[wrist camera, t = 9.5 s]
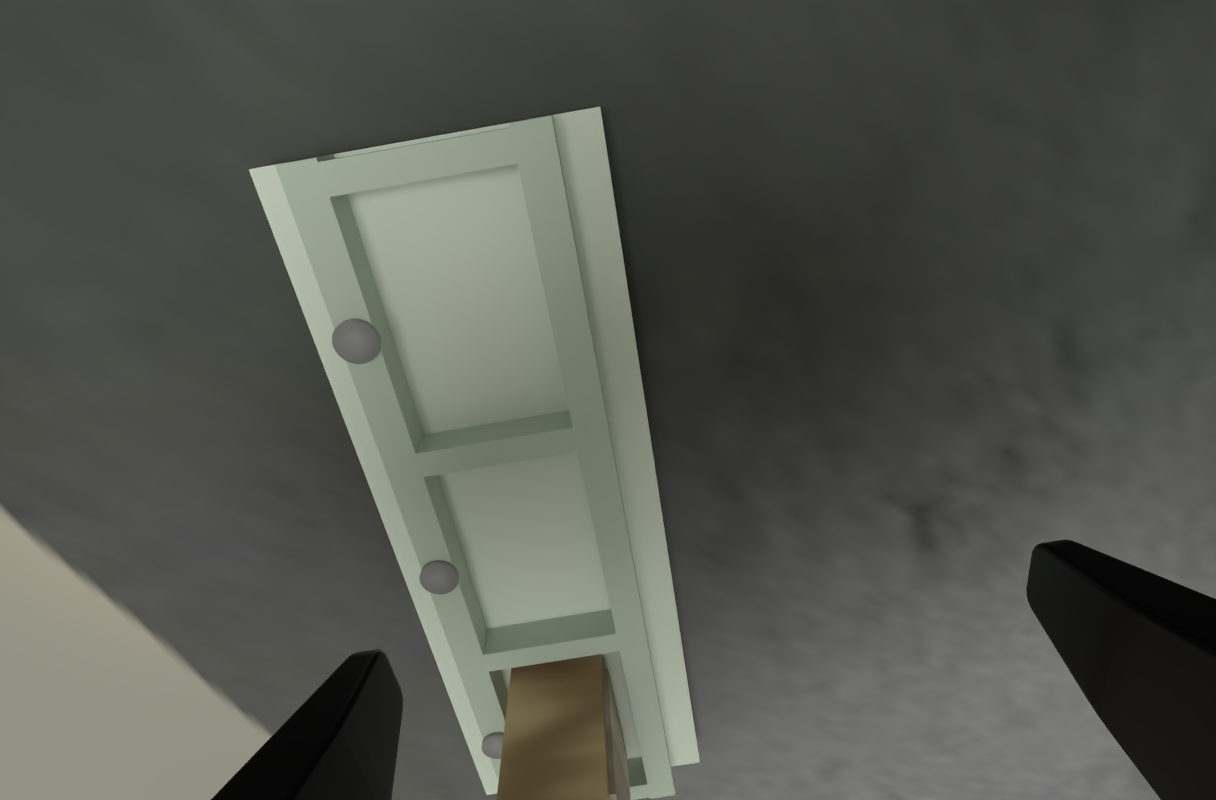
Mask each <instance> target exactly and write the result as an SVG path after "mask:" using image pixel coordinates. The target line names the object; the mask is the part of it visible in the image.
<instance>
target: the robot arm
mask: <svg viewBox="0 0 1216 800" xmlns="http://www.w3.org/2000/svg"><path fill="white" fill-rule="evenodd" d="M1027 598H1028V602H1029V604H1030V607H1031V609H1032V610H1033V612H1034V614H1035V615H1036V617H1037V619H1038V620H1039V622H1040V623H1041V625H1042V627H1043V628H1044V630H1045V632H1046V633H1047V635H1048V636H1049V638H1050V640H1051V641H1052V643H1053V645H1054V646H1055V648H1056V649H1057V651H1058V653H1059V654H1060V656H1061V658H1062V659H1063V661H1064V662H1065V664H1066V666H1067V667H1068V669H1069V671H1070V672H1071V674H1072V675H1073V677H1074V679H1075V680H1076V682H1077V683H1078V685H1079V687H1080V688H1081V690H1082V692H1083V693H1084V695H1085V696H1086V698H1087V700H1088V701H1089V703H1090V704H1091V706H1092V707H1093V709H1094V710H1095V712H1096V713H1097V715H1098V716H1099V717H1100V719H1101V720H1102V722H1103V723H1104V724H1105V726H1106V727H1107V729H1108V730H1109V731H1110V733H1111V734H1112V735H1113V737H1114V738H1115V739H1116V741H1117V742H1118V743H1119V745H1120V746H1121V747H1122V749H1123V750H1124V751H1125V753H1126V754H1127V755H1128V757H1129V758H1130V759H1131V761H1132V762H1133V763H1134V765H1135V766H1136V767H1137V768H1138V770H1139V771H1140V772H1141V774H1142V775H1143V776H1144V778H1145V779H1146V780H1147V782H1148V783H1149V784H1150V786H1151V787H1152V788H1153V790H1154V791H1155V792H1156V794H1157V795H1158V796H1159V798H1160V799H1161V800H1216V599H1214V598H1212V597H1209V596H1207V595H1204V594H1202V593H1199V592H1197V591H1194V590H1192V589H1190V588H1187V587H1185V586H1182V585H1180V584H1177V583H1175V582H1172V581H1170V580H1167V579H1165V578H1163V577H1160V576H1158V575H1155V574H1153V573H1150V572H1148V571H1145V570H1143V569H1140V568H1138V567H1136V566H1133V565H1131V564H1128V563H1126V562H1123V561H1121V560H1118V559H1116V558H1113V557H1111V556H1109V555H1106V554H1104V553H1101V552H1099V551H1096V550H1094V549H1091V548H1089V547H1086V546H1084V545H1082V544H1079V543H1077V542H1074V541H1071V540H1059V541H1052V542H1046V543H1041V544H1038V545H1036V546H1035V548H1034V549H1033V551H1032V556H1031V563H1030V569H1029V576H1028V582H1027ZM402 710H403V696H402V691H401V688H400V685H399V683H398V681H397V678H396V676H395V673H394V671H393V669H392V666H391V664H390V662H389V659H388V657H387V655H386V653H385V652H384V651H382V650H379V649H376V650H370V651H363V652H357V653H354V654H352V655H351V656H349V657H348V658H347V659H346V660H345V661H344V662H343V663H342V664H341V665H340V666H339V667H338V668H337V669H336V670H335V672H334V673H333V674H332V675H331V676H330V677H329V678H328V679H327V680H326V681H325V682H324V683H323V684H322V685H321V686H320V687H319V688H318V689H317V690H316V691H315V692H314V693H313V694H312V695H311V696H310V697H309V698H308V699H307V701H306V702H305V703H304V704H303V705H302V706H301V707H300V708H299V709H298V710H297V711H296V712H295V713H294V714H293V715H292V716H291V717H290V718H289V719H288V720H287V721H286V722H285V723H284V724H283V725H282V726H281V727H280V729H279V730H278V731H277V732H276V733H275V734H274V735H273V736H272V737H271V738H270V739H269V740H268V741H267V742H266V743H265V744H264V745H263V746H262V747H261V748H260V749H259V750H258V751H257V752H256V753H255V755H254V756H252V758H251V759H250V760H249V761H248V762H247V763H246V764H245V765H244V766H243V767H242V768H241V769H240V770H239V771H238V772H237V773H236V774H235V775H234V776H233V777H232V778H231V779H230V780H229V781H228V782H227V784H225V786H224V787H223V788H222V789H221V790H220V791H219V792H218V793H217V794H216V795H215V796H214V797H213V798H212V799H211V800H391V798H392V790H393V782H394V774H395V766H396V758H397V750H398V742H399V734H400V726H401V718H402Z"/></svg>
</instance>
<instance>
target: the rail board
mask: <svg viewBox="0 0 1216 800" xmlns="http://www.w3.org/2000/svg"><path fill="white" fill-rule="evenodd" d="M249 171H250V174H251V177H252V179H253V182H254V184H255V187H256V190H257V192H258V195H259V198H260V200H261V203H262V205H263V208H264V211H265V213H266V216H267V219H268V221H269V224H270V226H271V229H272V232H273V234H274V237H275V240H276V242H277V245H278V247H279V250H280V253H281V255H282V258H283V261H284V263H285V266H286V269H287V271H288V274H289V276H290V279H291V282H292V284H293V287H294V290H295V292H296V295H297V297H298V300H299V303H300V305H301V308H302V311H303V313H304V316H305V318H306V321H307V324H308V326H309V329H310V332H311V334H312V337H313V339H314V342H315V345H316V347H317V350H318V353H319V355H320V358H321V361H322V363H323V366H324V368H325V371H326V374H327V376H328V379H329V382H330V384H331V387H332V389H333V392H334V395H335V397H336V400H337V403H338V405H339V408H340V410H341V413H342V416H343V418H344V421H345V424H346V426H347V429H348V432H349V434H350V437H351V439H352V442H353V445H354V447H355V450H356V453H357V455H358V458H359V460H360V463H361V466H362V468H363V471H364V474H365V476H366V479H367V481H368V484H369V487H370V489H371V492H372V495H373V497H374V500H375V502H376V505H377V508H378V510H379V513H380V516H381V518H382V521H383V524H384V526H385V529H386V531H387V534H388V537H389V539H390V542H391V545H392V547H393V550H394V552H395V555H396V558H397V560H398V563H399V566H400V568H401V571H402V573H403V576H404V579H405V581H406V584H407V587H408V589H409V592H410V594H411V597H412V600H413V602H414V605H415V608H416V610H417V613H418V616H419V618H420V621H421V623H422V626H423V629H424V631H425V634H426V637H427V639H428V642H429V644H430V647H431V650H432V652H433V655H434V658H435V660H436V663H437V665H438V668H439V671H440V673H441V676H442V679H443V681H444V684H445V687H446V689H447V692H448V694H449V697H450V700H451V702H452V705H453V708H454V710H455V713H456V715H457V718H458V721H459V723H460V726H461V729H462V731H463V734H464V736H465V739H466V742H467V744H468V747H469V750H470V752H471V755H472V757H473V760H474V763H475V765H476V768H477V771H478V773H479V776H480V779H481V781H482V784H483V786H484V789H485V792H486V794H487V795H490V794H496V793H497V791H498V782H499V773H500V764H501V755H502V746H503V737H504V728H505V719H506V710H507V701H508V692H509V683H510V674H511V668H515V667H522V666H528V665H534V664H541V663H547V662H553V661H560V660H566V659H572V658H579V657H585V656H591V655H597V654H602V658H603V662H604V666H605V669H608V671H609V675H610V680H611V684H612V689H613V693H614V698H615V702H616V707H617V711H618V716H619V720H620V725H621V729H622V734H623V738H624V743H625V747H626V752H627V762H628V774H629V786H630V799H631V800H635V799H642V798H648V797H650V799H653V798H659V797H666V796H672V795H675V789H674V783H673V776H672V769H671V767H672V766H678V765H685V764H691V763H698V762H700V761H699V754H698V747H697V741H696V734H695V728H694V721H693V715H692V708H691V701H690V695H689V688H688V682H687V675H686V668H685V662H684V655H683V649H682V642H681V635H680V629H679V622H678V616H677V609H676V603H675V596H674V589H673V583H672V576H671V570H670V563H669V556H668V550H667V543H666V537H665V530H664V523H663V517H662V510H661V504H660V497H659V491H658V484H657V477H656V471H655V464H654V458H653V451H652V444H651V438H650V431H649V425H648V418H647V411H646V405H645V398H644V392H643V385H642V379H641V372H640V365H639V359H638V352H637V346H636V339H635V332H634V326H633V319H632V313H631V306H630V299H629V293H628V286H627V280H626V273H625V267H624V260H623V253H622V247H621V240H620V234H619V227H618V220H617V214H616V207H615V201H614V194H613V187H612V181H611V174H610V168H609V161H608V155H607V148H606V141H605V135H604V128H603V122H602V115H601V108H600V107H594V108H589V109H583V110H577V111H572V112H566V113H561V114H555V115H549V116H544V117H538V118H533V119H527V120H521V121H516V122H510V123H505V124H499V125H494V126H488V127H482V128H477V129H471V130H466V131H460V132H454V133H449V134H443V135H438V136H432V137H426V138H421V139H415V140H410V141H404V142H399V143H393V144H387V145H382V146H376V147H371V148H365V149H359V150H354V151H348V152H343V153H337V154H331V155H326V156H320V157H315V158H309V159H304V160H298V161H292V162H287V163H281V164H276V165H270V166H265V167H259V168H254V169H249Z"/></svg>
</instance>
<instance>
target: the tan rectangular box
mask: <svg viewBox="0 0 1216 800" xmlns="http://www.w3.org/2000/svg"><path fill="white" fill-rule="evenodd" d="M497 800H631V799H630V786H629V774H628V762H627V752H626V747H625V743H624V738H623V734H622V729H621V725H620V720H619V716H618V711H617V707H616V702H615V698H614V693H613V689H612V684H611V680H610V675H609V671H608V669H605V666H604V662H603V658H602V654H597V655H591V656H585V657H579V658H572V659H566V660H560V661H553V662H547V663H541V664H534V665H528V666H522V667H515V668H511V674H510V683H509V692H508V701H507V710H506V719H505V728H504V737H503V746H502V755H501V764H500V773H499V782H498V791H497Z"/></svg>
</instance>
